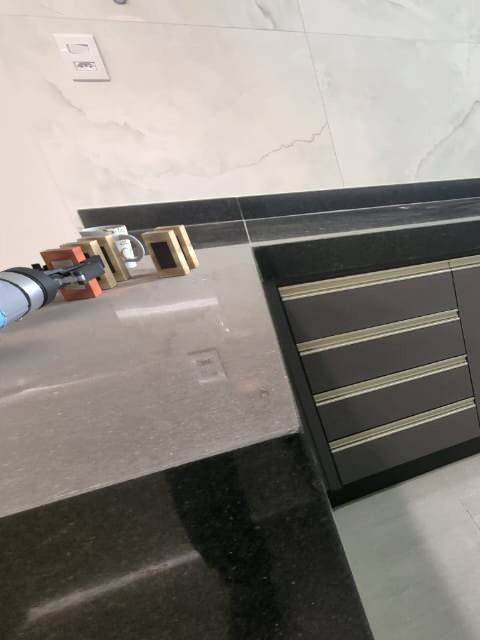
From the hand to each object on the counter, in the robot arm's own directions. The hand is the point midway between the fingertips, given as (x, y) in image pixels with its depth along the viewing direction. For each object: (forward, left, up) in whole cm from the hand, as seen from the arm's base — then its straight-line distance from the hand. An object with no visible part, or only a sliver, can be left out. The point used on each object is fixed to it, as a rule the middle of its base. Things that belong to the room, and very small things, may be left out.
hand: (83, 263), depth 111 cm
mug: (-17, +14, -6) cm, 23 cm away
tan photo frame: (-4, +4, -6) cm, 8 cm away
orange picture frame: (+4, -4, -6) cm, 8 cm away
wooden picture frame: (+1, +16, -6) cm, 17 cm away
